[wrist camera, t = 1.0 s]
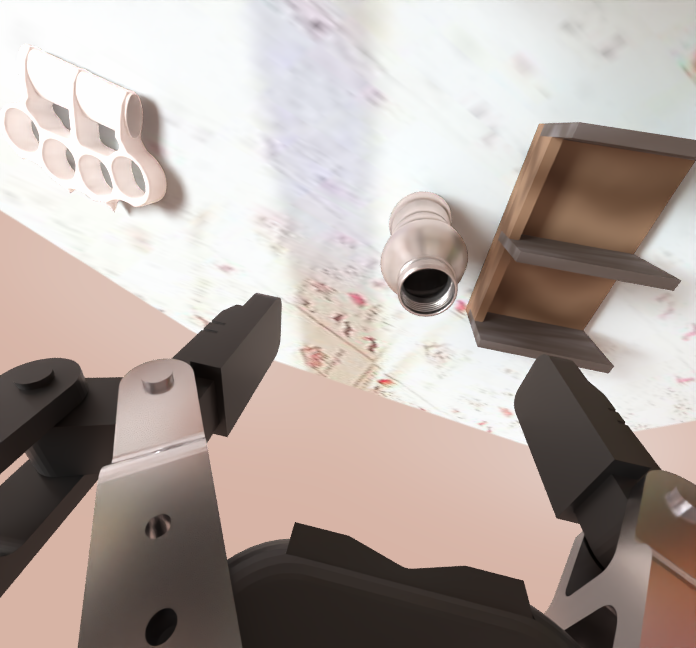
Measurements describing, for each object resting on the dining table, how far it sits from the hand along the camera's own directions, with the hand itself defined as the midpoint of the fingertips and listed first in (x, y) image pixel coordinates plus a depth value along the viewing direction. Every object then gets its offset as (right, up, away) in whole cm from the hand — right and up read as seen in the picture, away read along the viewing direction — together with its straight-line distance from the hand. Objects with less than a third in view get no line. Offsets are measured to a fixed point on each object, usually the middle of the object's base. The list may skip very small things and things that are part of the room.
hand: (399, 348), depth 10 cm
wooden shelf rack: (+22, +10, +26) cm, 35 cm away
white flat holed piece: (-32, +23, +29) cm, 49 cm away
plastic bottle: (+7, +13, +27) cm, 31 cm away
